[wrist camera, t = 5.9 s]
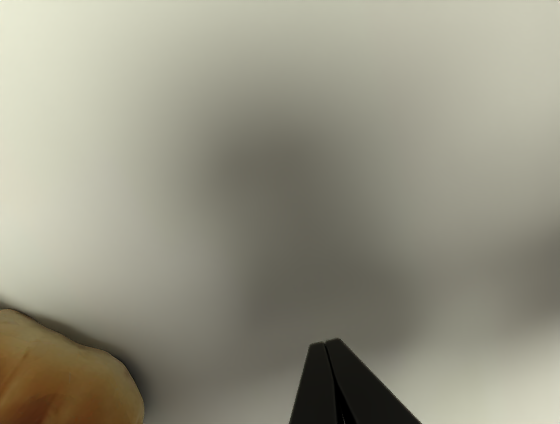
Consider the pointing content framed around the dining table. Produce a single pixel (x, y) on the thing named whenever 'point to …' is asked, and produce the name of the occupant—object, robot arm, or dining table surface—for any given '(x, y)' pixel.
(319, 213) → the dining table surface
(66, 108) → the dining table surface
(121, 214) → the dining table surface
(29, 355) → the pastry
